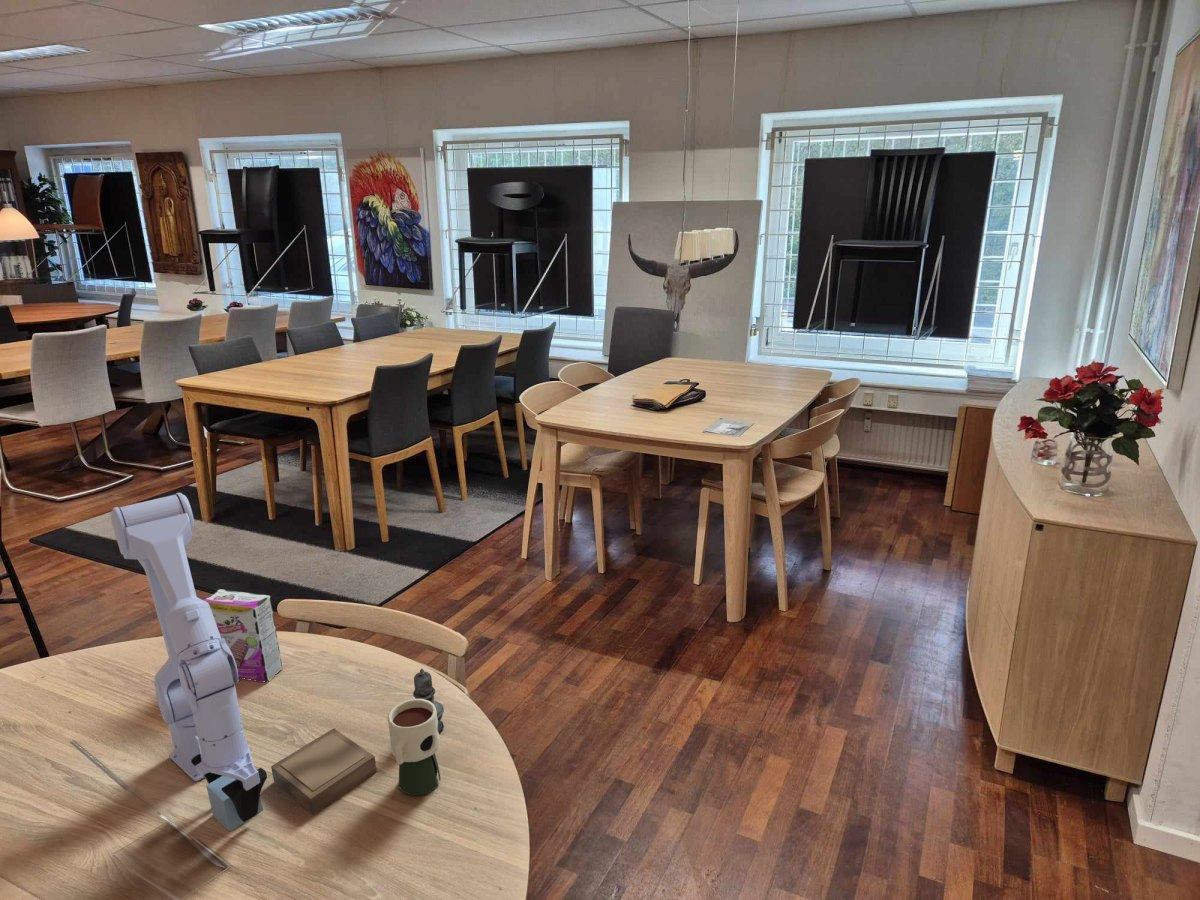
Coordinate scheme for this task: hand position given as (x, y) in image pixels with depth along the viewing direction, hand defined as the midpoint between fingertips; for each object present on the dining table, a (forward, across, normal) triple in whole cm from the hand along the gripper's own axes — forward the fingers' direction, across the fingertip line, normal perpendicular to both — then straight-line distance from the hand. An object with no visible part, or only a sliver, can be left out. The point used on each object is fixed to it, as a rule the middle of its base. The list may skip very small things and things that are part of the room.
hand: (236, 804), depth 110 cm
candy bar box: (+2, -32, +19) cm, 37 cm away
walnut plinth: (+1, +4, +12) cm, 13 cm away
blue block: (+2, 0, 0) cm, 2 cm away
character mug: (+2, +17, +20) cm, 26 cm away
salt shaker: (+2, +8, +29) cm, 30 cm away
